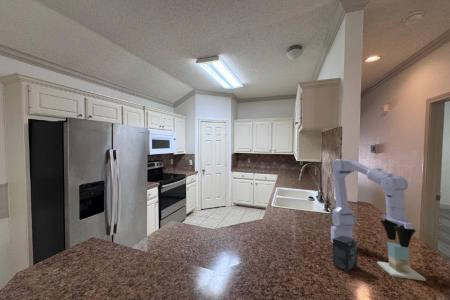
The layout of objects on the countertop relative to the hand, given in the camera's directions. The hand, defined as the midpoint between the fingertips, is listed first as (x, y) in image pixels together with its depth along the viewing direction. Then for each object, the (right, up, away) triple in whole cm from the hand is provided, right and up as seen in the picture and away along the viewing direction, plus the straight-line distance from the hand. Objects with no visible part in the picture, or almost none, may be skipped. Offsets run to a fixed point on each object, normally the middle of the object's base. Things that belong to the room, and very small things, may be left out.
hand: (397, 243), depth 74 cm
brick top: (0, -5, -1) cm, 5 cm away
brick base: (0, -10, -1) cm, 10 cm away
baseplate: (0, -10, -1) cm, 10 cm away
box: (-19, -10, +2) cm, 22 cm away
